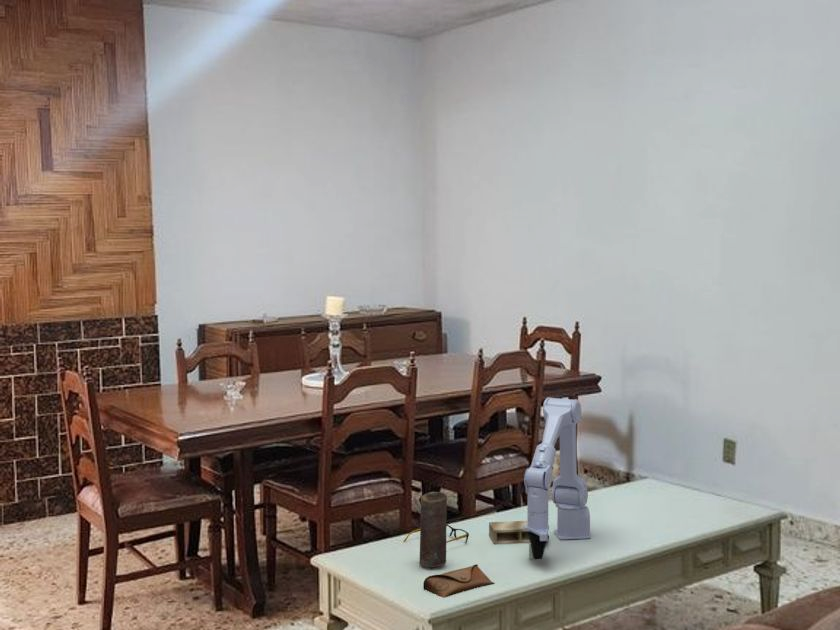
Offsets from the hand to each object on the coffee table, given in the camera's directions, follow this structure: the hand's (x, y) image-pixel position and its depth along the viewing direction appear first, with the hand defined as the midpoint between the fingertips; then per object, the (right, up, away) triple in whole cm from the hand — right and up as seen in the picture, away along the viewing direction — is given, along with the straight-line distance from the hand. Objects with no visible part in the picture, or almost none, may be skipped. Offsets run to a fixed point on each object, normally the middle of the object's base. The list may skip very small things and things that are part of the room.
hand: (537, 558), depth 272 cm
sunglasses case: (-22, -4, -16) cm, 28 cm away
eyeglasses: (-28, -1, +18) cm, 33 cm away
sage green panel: (+2, 0, +10) cm, 11 cm away
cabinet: (-3, 0, +22) cm, 22 cm away
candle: (-29, -2, -1) cm, 29 cm away
